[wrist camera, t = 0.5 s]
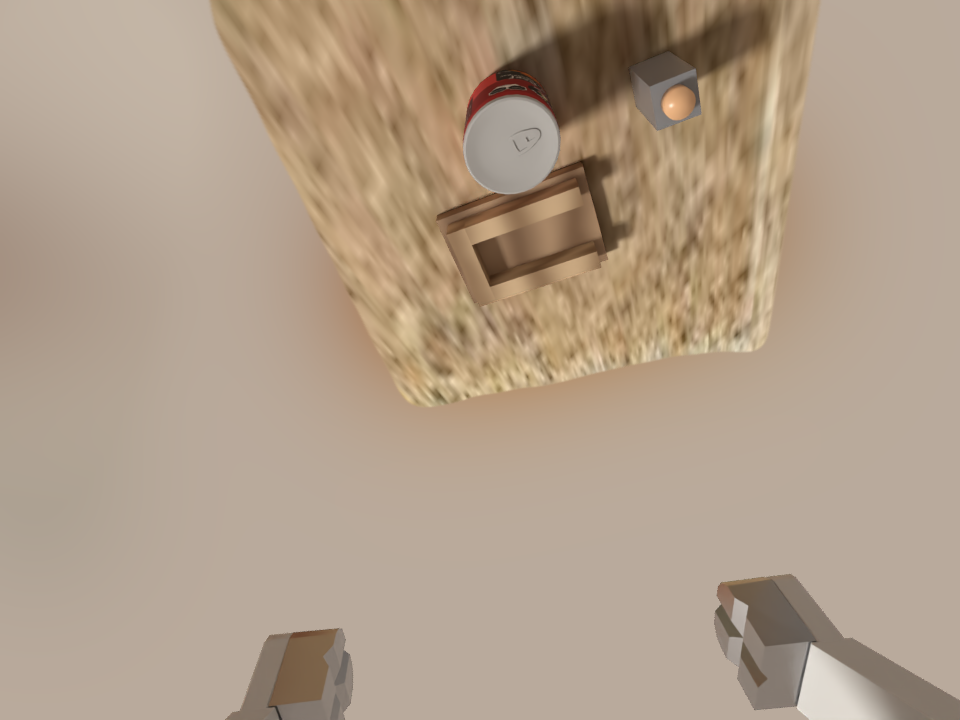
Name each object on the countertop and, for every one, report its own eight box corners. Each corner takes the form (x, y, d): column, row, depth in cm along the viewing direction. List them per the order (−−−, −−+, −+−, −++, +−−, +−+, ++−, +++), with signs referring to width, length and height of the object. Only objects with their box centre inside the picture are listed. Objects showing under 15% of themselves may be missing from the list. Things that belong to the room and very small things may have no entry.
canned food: (565, 110, 51) (581, 145, 43) (505, 170, 55) (509, 214, 46) (509, 46, 48) (514, 71, 39) (450, 115, 52) (442, 151, 43)
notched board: (580, 161, 54) (586, 175, 51) (605, 253, 61) (612, 270, 57) (437, 215, 58) (434, 231, 55) (474, 296, 64) (474, 315, 61)
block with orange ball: (668, 50, 48) (700, 71, 41) (674, 91, 50) (706, 118, 43) (628, 67, 49) (653, 90, 42) (636, 106, 51) (660, 135, 44)
